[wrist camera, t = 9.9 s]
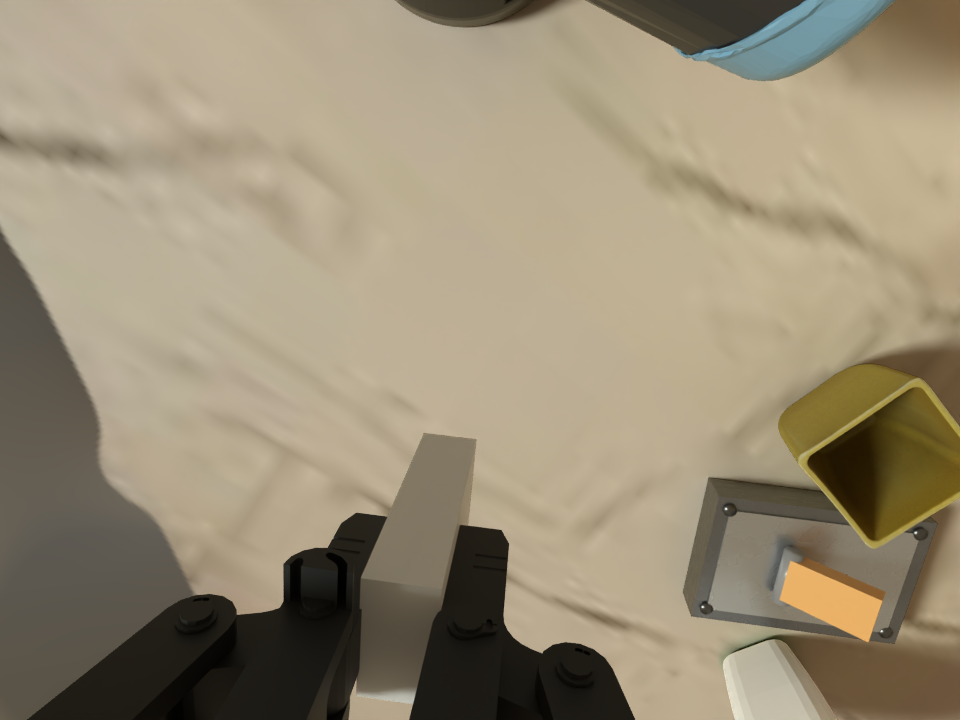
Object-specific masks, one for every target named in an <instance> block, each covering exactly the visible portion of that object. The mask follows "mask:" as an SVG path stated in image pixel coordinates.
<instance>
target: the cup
mask: <svg viewBox="0 0 960 720" xmlns="http://www.w3.org/2000/svg"><path fill="white" fill-rule="evenodd" d="M723 670H724V675H725V680H726V685H727V690H728V694H729V698H730V702H731V706H732V710H733V714H734V718H735V720H838V719H837V718H836V716H835V714H834V713H833V711H832V710H831V708H830V706H829V705H828V703H827V701H826V700H825V698H824V697H823V695H822V693H821V692H820V690H819V689H818V687H817V686H816V684H815V683H814V681H813V680H812V678H811V677H810V675H809V674H808V673H807V671H806V670H805V668H804V667H803V665H802V664H801V663H800V661H799V660H798V659H797V657H796V656H795V654H794V653H793V652H792V650H791V649H790V648H789V646H788V645H787V644H786V643H785V642H783V641H781V640H775V639H772V640H767V641H764V642H761V643H759V644H756V645H753V646H751V647H748V648H745V649H742V650H740V651H737V652H734V653H732V654H730V655H729V656H727V657H726V659H725V660H724V662H723Z"/></svg>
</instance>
